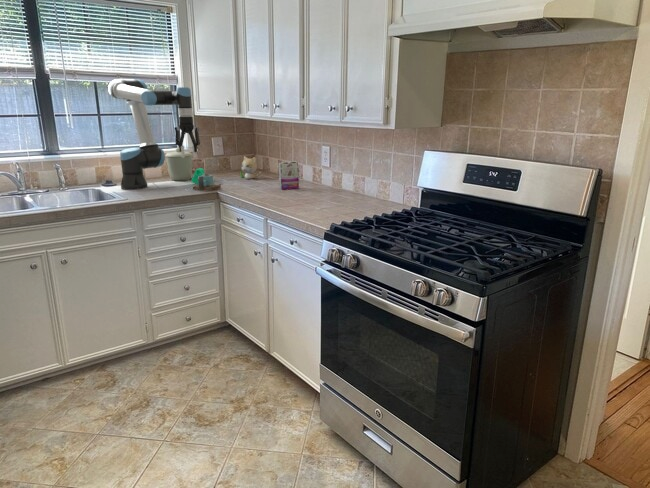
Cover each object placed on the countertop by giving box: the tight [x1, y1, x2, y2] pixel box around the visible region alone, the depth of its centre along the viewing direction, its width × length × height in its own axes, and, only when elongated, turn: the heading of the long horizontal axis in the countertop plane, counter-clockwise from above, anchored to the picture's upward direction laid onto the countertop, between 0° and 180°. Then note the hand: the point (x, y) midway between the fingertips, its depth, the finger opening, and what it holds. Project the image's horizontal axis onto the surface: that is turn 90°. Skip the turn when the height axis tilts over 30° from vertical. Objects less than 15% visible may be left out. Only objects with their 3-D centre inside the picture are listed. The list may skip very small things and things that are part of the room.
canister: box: [165, 147, 193, 182], centre depth 319 cm, size 18×18×21 cm
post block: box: [192, 171, 222, 192], centre depth 291 cm, size 14×10×10 cm
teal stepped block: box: [198, 174, 214, 187], centre depth 287 cm, size 6×14×6 cm, turn 174°
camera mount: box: [191, 167, 205, 185], centre depth 306 cm, size 12×8×10 cm, turn 62°
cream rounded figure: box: [239, 155, 262, 180], centre depth 325 cm, size 15×10×15 cm, turn 57°
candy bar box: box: [278, 160, 300, 191], centre depth 292 cm, size 11×5×16 cm, turn 112°
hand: (188, 157), depth 277 cm, fingers open, 6 cm apart
